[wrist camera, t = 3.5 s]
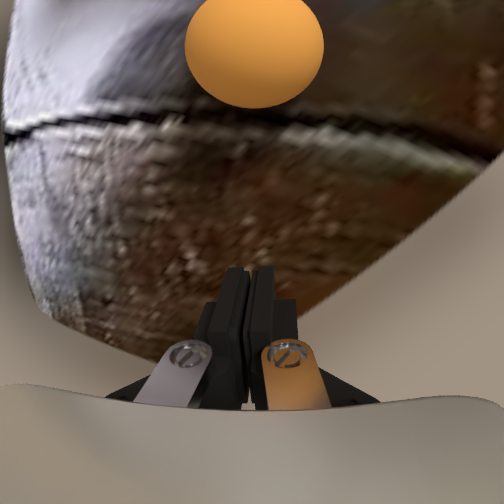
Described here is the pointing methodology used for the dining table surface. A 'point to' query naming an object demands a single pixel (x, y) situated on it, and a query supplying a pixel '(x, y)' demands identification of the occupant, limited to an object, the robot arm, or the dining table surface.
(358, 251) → the dining table surface
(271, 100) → the ball
